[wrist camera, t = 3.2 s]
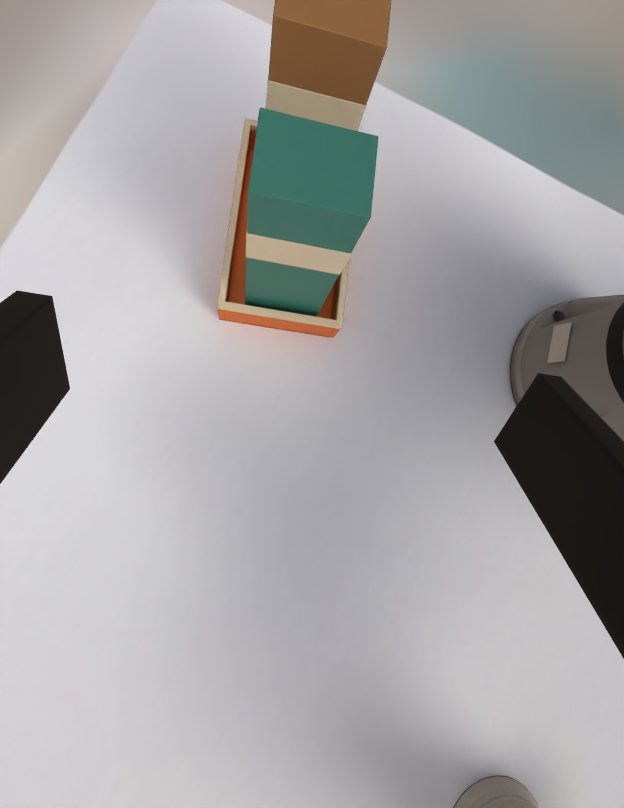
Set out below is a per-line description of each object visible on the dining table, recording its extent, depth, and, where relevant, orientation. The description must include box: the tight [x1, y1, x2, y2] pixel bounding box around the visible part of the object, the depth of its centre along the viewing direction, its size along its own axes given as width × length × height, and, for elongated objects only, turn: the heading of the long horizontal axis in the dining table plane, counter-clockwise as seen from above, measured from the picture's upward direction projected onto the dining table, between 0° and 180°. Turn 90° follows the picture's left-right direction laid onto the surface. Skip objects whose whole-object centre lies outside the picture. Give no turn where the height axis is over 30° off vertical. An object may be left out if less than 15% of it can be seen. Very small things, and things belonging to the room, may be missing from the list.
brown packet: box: [266, 0, 391, 131], centre depth 29 cm, size 6×5×16 cm
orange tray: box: [217, 118, 349, 338], centre depth 35 cm, size 10×16×3 cm, turn 173°
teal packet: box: [245, 108, 378, 317], centre depth 27 cm, size 6×5×16 cm
